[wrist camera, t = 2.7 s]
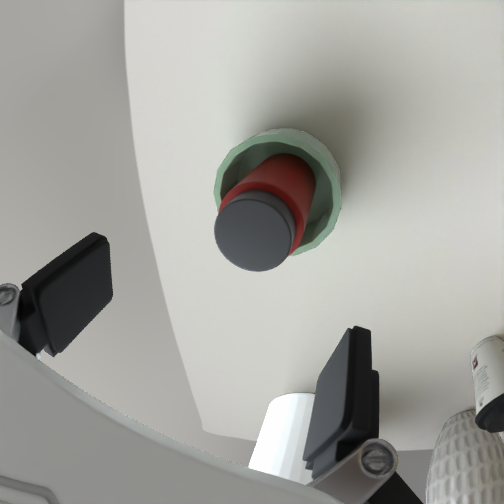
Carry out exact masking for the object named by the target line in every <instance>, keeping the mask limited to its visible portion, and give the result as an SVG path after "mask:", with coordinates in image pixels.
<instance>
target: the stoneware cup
mask: <svg viewBox="0 0 504 504" xmlns="http://www.w3.org/2000/svg"><path fill="white" fill-rule="evenodd" d="M279 153H289V154H293V155H296V156H298V157H300V158H302V159H303V160H304V161H306V162H307V163H308V165H309V166H310V167H311V169H312V170H313V173H314V175H315V180H316V189H315V193H314V197H313V200H312V204H311V208H310V212H309V215H308V219H307V223H306V227H305V230H304V234H303V237H302V240H301V242H300V244H299V246H298V247H297V249H296V250H295V251H294V252H293V253H292V254H291V255H289V256H295V255H298V254H301V253H303V252H305V251H308V250H310V249H313V248H315V247H316V246H318V245H319V244H320V243H321V242H322V241H323V240H324V239H325V238H326V237H327V236H328V235H329V234H330V233H331V232H332V231H333V229H334V226H335V224H336V221H337V218H338V215H339V213H340V210H341V182H340V171H339V167H338V165H337V163H336V161H335V159H334V157H333V155H332V154H331V152H330V150H329V149H328V148H327V147H326V146H325V145H324V144H323V143H322V142H321V141H320V140H318V139H317V138H315V137H314V136H312V135H311V134H308V133H306V132H303V131H300V130H296V129H291V128H278V129H273V130H266V131H264V132H262V133H259V134H257V135H255V136H253V137H251V138H249V139H248V140H246V141H244V142H243V143H241V144H239V145H238V146H236V147H235V148H233V149H231V150H230V152H229V153H228V155H227V156H226V158H225V159H224V161H223V162H222V164H221V165H220V167H219V168H218V170H217V175H216V180H215V186H214V198H215V202H216V207H217V211H219V207H220V204H221V202H222V200H223V198H224V197H225V196H226V194H227V193H228V192H229V191H230V190H231V189H233V188H234V187H235V186H236V185H237V184H238V183H239V182H240V181H241V180H243V179H244V178H245V177H246V176H247V175H248V174H249V173H250V172H252V171H253V170H254V169H255V168H256V167H257V166H258V165H260V164H261V163H262V162H263V161H264V160H265V159H267V158H268V157H270V156H272V155H275V154H279Z"/></svg>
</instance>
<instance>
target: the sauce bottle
mask: <svg viewBox="0 0 504 504" xmlns="http://www.w3.org/2000/svg"><path fill="white" fill-rule="evenodd" d="M315 189H316V180H315V175H314V173H313V170H312V169H311V167H310V166H309V165H308V163H307V162H306V161H304V160H303V159H302V158H300V157H298V156H296V155H293V154H289V153H279V154H275V155H272V156H270V157H268V158H267V159H265V160H264V161H263V162H262V163H261V164H260V165H258V166H257V167H256V168H255V169H254V170H253V171H252V172H250V173H249V174H248V175H247V176H246V177H245V178H244V179H243V180H241V181H240V182H239V183H238V184H237V185H236V186H235V187H234V188H233V189H231V190H230V191H229V192H228V193H227V194H226V196H225V197H224V198H223V200H222V202H221V204H220V207H219V211H218V216H217V218H216V221H215V225H214V235H215V240H216V243H217V246H218V248H219V250H220V251H221V253H222V254H223V255H224V256H225V258H226V259H227V260H229V261H230V262H231V263H232V264H234V265H236V266H237V267H239V268H242V269H244V270H248V271H255V272H261V271H267V270H270V269H273V268H275V267H277V266H278V265H280V264H281V263H282V262H283V261H284V260H285V259H286V258H287V257H288V256H289V255H291V254H292V253H293V252H294V251H295V250H296V249H297V247H298V246H299V244H300V242H301V240H302V237H303V234H304V230H305V227H306V223H307V219H308V215H309V212H310V208H311V204H312V200H313V197H314V193H315Z"/></svg>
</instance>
